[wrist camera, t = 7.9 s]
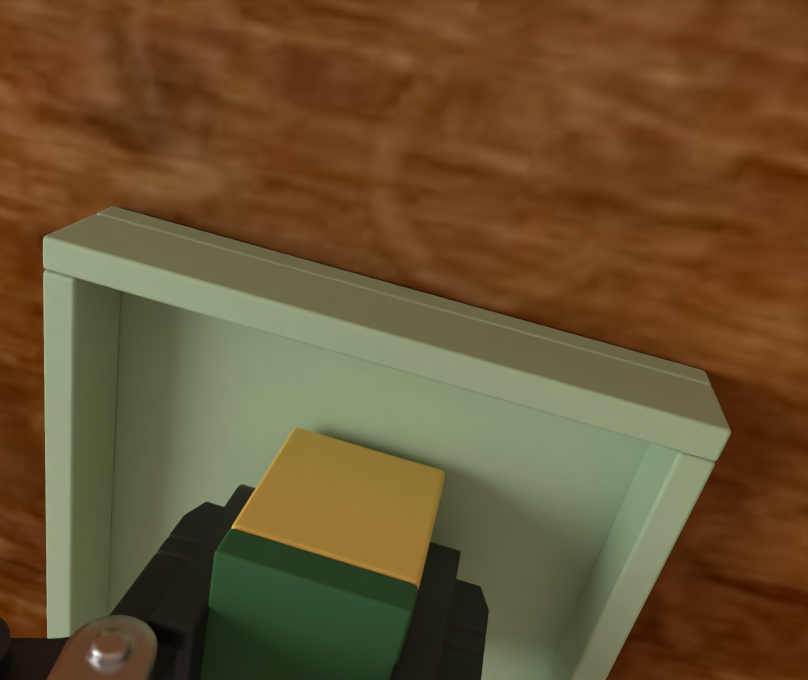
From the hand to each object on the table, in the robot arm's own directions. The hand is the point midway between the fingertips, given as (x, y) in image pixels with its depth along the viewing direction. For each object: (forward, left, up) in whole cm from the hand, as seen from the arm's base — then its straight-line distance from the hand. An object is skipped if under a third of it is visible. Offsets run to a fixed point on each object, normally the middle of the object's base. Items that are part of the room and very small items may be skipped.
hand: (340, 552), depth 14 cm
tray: (+1, -2, -1) cm, 2 cm away
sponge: (0, 0, -1) cm, 1 cm away
